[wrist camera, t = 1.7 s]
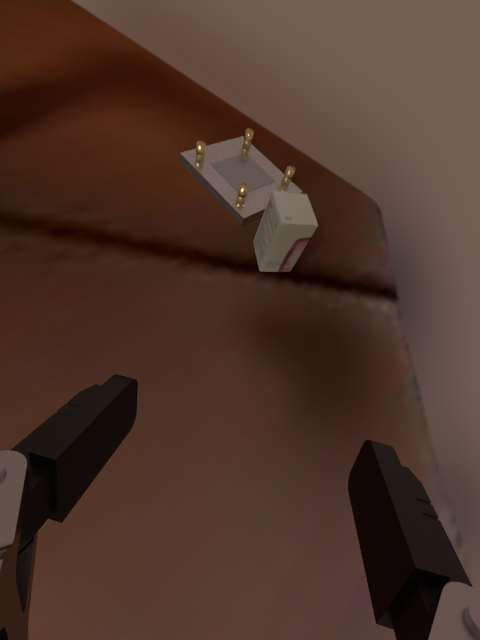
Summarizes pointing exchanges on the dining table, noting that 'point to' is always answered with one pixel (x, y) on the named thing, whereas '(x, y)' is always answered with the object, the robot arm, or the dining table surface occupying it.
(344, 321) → the dining table surface
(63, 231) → the dining table surface
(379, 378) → the dining table surface
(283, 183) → the chassis
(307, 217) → the small box
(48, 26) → the dining table surface
